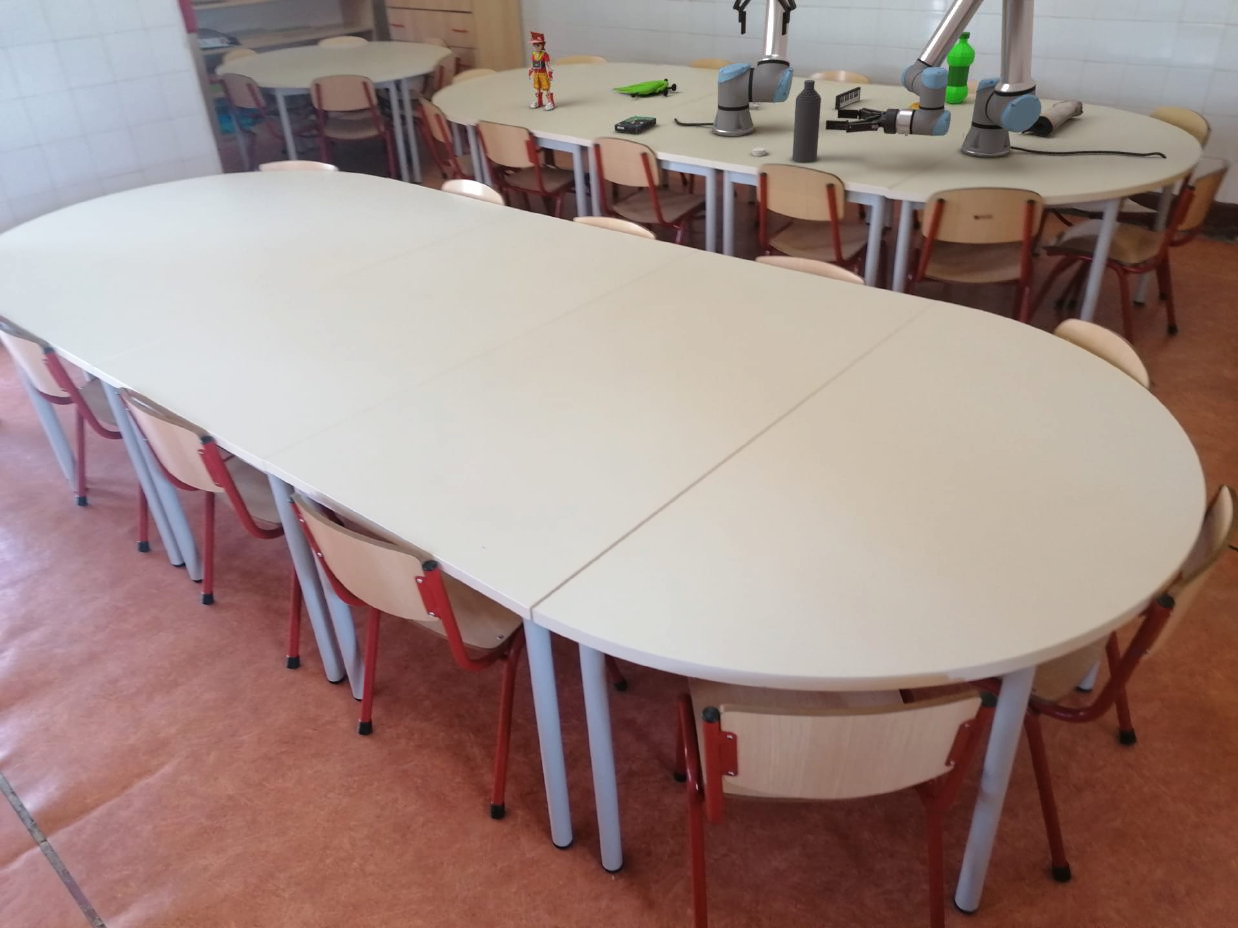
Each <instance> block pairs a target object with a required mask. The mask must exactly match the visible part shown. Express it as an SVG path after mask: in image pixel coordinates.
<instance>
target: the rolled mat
mask: <svg viewBox="0 0 1238 928" xmlns="http://www.w3.org/2000/svg"><path fill="white" fill-rule="evenodd" d="M1083 114H1084V110H1083V102H1082V101H1081V100H1075V99H1074V100H1066V101H1065V100H1064V101H1059V102H1055V103H1053V105H1052V107H1050V108H1047V109H1046V110H1044V111H1041V113H1040V116H1039V118H1038V119H1037V121H1036V122H1035V123H1034V124H1033V125H1032V126H1031V127H1030V128H1029V129H1027V130H1025V131H1022V132H1021V135H1024V134H1026V133H1033V134H1034V135H1035V136H1038V137H1043V138H1044V137H1045V138H1046V137H1049V136H1050V135H1052V134H1053V133H1054V132H1055V131H1056V130H1057V129H1058V128H1059V127H1060V126H1061V125H1063V124H1064V123H1065V122H1066V121H1067V120H1069V119H1070V118H1075V117H1080V116H1082V115H1083Z"/></svg>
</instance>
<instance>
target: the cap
mask: <svg viewBox="0 0 1238 928" xmlns="http://www.w3.org/2000/svg"><path fill="white" fill-rule="evenodd" d="M766 150H767V149H766V148H765V147H761V146H758V147H757V146H756V147H754V148H752V153H751V155H752V156H754V157H763V156H765V155H766V154H767V153H766V152H767V151H766Z"/></svg>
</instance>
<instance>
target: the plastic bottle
mask: <svg viewBox="0 0 1238 928" xmlns="http://www.w3.org/2000/svg"><path fill="white" fill-rule="evenodd" d="M970 36H971V32H970V31H963V33H962V34H961V36H960V37H959V39H958V42H956V43H955V45H954V47H953V48H952V50H951V51H950V53H949V54H948V56H947V57H946V63H947V64H948V69H947V71H948V79H947V80H948V84H947V88H946V96H945V102H947V103H948V104H960V103H961V102H963V101H964V100H966V98H967V96H968V95H969V85H968V79H969V73H970V67H971V65H972V64H973V63H974V61H975V57H976V51H975V49H974V47H972V45H971V44H970V43H969V42H968V41H969V39H970V38H971V37H970Z"/></svg>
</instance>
